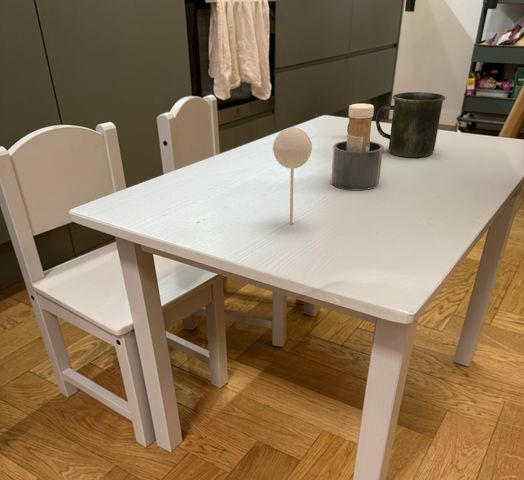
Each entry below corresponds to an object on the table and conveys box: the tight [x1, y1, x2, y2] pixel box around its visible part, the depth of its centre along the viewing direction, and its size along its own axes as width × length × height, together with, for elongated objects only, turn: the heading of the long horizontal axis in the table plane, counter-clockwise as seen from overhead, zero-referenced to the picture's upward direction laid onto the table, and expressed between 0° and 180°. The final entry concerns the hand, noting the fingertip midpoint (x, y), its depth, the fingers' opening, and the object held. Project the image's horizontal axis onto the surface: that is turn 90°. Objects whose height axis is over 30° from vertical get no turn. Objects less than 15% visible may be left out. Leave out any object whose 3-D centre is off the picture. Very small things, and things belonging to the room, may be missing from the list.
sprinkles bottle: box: [346, 103, 375, 152], centre depth 96 cm, size 5×5×14 cm
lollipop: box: [272, 126, 313, 225], centre depth 79 cm, size 6×6×15 cm
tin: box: [331, 140, 384, 190], centre depth 98 cm, size 9×9×7 cm
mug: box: [375, 91, 446, 158], centre depth 114 cm, size 11×15×12 cm
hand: (449, 10), depth 82 cm, fingers open, 13 cm apart
